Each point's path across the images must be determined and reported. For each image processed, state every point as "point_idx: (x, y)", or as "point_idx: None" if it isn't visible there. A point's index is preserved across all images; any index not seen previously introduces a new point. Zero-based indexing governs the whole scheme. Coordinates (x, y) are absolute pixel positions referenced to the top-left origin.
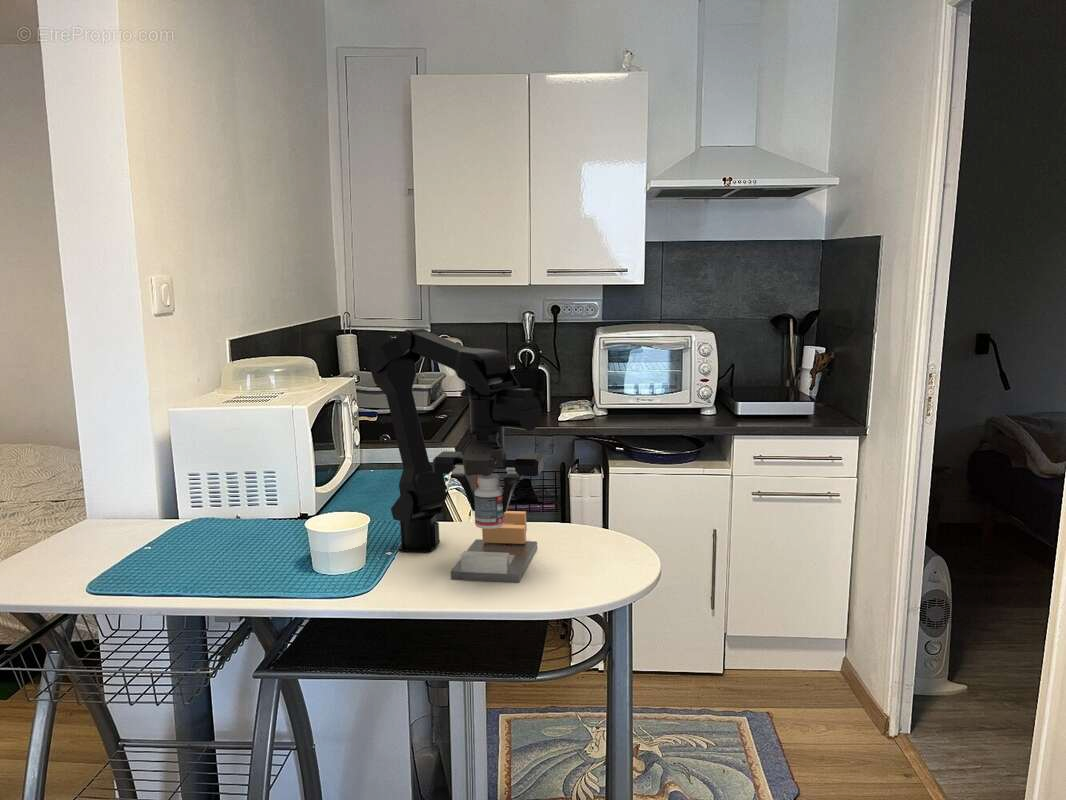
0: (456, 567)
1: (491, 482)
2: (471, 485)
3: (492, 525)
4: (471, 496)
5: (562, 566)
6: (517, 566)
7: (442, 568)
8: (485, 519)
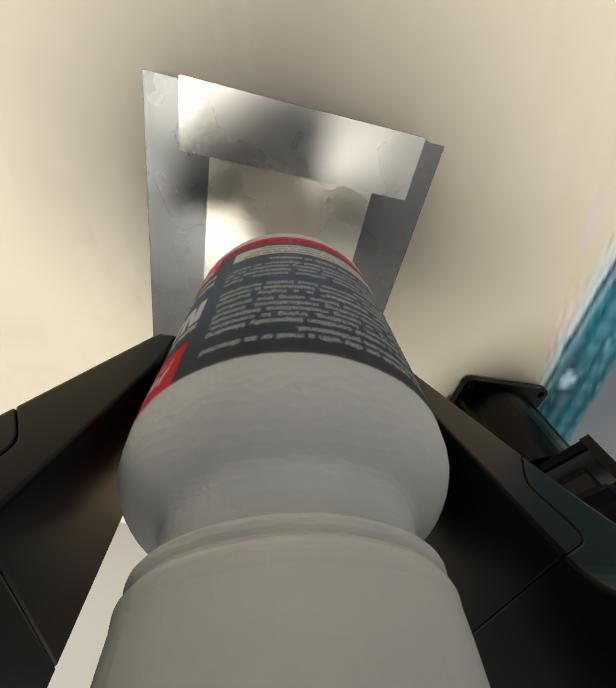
0: (416, 191)
1: (211, 604)
2: (503, 562)
3: (260, 238)
4: (459, 434)
5: (32, 254)
6: (171, 182)
7: (445, 261)
8: (310, 255)
